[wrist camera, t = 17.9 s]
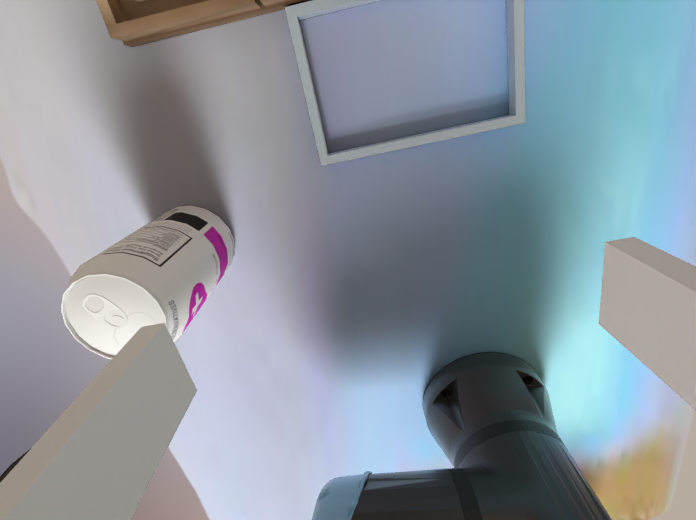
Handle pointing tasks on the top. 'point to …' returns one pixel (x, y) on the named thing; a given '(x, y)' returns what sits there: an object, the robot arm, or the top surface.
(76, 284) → the supplement can
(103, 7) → the brown divided tray
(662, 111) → the top surface
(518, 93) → the frame
